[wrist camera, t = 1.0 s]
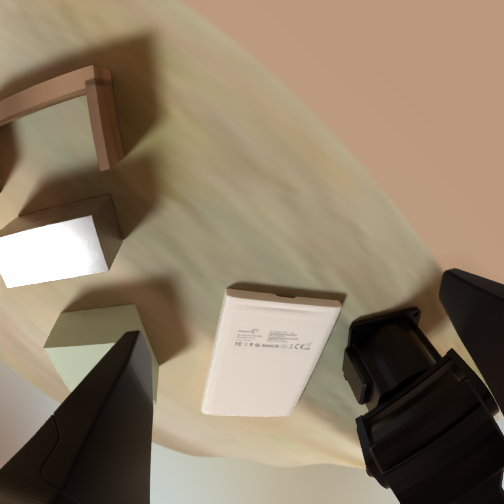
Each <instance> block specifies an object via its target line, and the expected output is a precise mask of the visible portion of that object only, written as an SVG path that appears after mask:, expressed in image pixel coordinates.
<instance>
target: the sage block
mask: <svg viewBox="0 0 504 504" xmlns="http://www.w3.org/2000/svg"><path fill="white" fill-rule="evenodd" d="M134 330H140V331H141V332H142V333H143V336H144V338H145V341H146V343H147V345H148V348H149V350H150V353H151V358H152V385H153V405H156V398H157V386H158V374H159V364H158V362H157V359H156V357H155V355H154V352H153V350H152V347H151V344H150V342H149V339H148V337H147V334H146V332H145V329H144V326H143V324H142V321H141V318H140V315H139V313H138V310H137V307H136V304H129V305H121V306H113V307H106V308H98V309H90V310H81V311H73V312H64V313H60V315H59V317H58V319H57V321H56V323H55V325H54V327H53V329H52V331H51V333H50V335H49V337H48V339H47V341H46V343H45V345H44V347H43V349H44V351H45V352H46V354H47V356H48V357H49V359H50V361H51V362H52V364H53V366H54V367H55V369H56V370H57V372H58V374H59V375H60V377H61V378H62V380H63V381H64V383H65V384H66V386H67V387H68V389H69V390H70V392H72V391H73V390H74V389H75V388H76V387H77V385H78V384H79V383H80V382H81V381H82V380H83V379H84V377H85V376H86V375H87V374H88V373H89V372H90V371H91V370H92V368H93V367H94V366H95V365H96V364H97V363H98V362H99V361H100V360H101V358H102V357H103V356H104V355H105V354H106V353H107V352H108V351H109V350H110V349H111V347H112V346H113V345H114V344H115V343H116V342H117V341H118V340H119V339H120V338H121V336H122V335H123V334H124V333H125V332H127V331H134Z"/></svg>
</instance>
